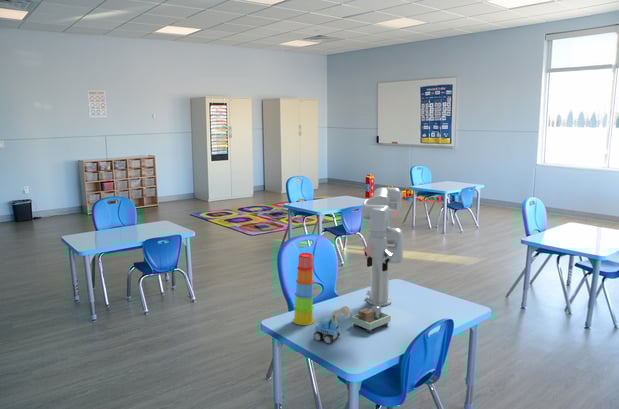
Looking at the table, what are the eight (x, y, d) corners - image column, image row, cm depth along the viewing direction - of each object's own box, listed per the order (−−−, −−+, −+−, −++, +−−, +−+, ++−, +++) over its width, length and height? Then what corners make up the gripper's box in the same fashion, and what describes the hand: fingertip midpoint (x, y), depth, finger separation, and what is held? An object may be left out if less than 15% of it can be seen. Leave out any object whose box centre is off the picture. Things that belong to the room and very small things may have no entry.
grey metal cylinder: (370, 318, 245) (370, 306, 244) (376, 316, 248) (376, 304, 247) (376, 321, 242) (376, 309, 241) (382, 318, 245) (382, 306, 244)
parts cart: (351, 326, 242) (351, 316, 242) (371, 318, 252) (372, 308, 251) (369, 334, 234) (369, 323, 233) (390, 325, 243) (390, 315, 242)
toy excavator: (344, 348, 220) (344, 311, 217) (311, 339, 228) (311, 304, 225) (352, 341, 227) (353, 305, 224) (321, 333, 235) (321, 298, 232)
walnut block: (358, 322, 240) (358, 310, 239) (365, 319, 244) (365, 308, 243) (366, 325, 237) (366, 313, 236) (373, 322, 240) (373, 311, 239)
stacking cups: (301, 315, 256) (300, 250, 250) (317, 320, 250) (317, 253, 244) (288, 322, 247) (287, 255, 241) (305, 327, 242) (304, 258, 236)
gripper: (358, 232, 242) (358, 266, 245) (386, 238, 229) (385, 274, 232) (369, 229, 247) (369, 263, 250) (397, 235, 234) (396, 270, 237)
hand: (377, 268), depth 241 cm, fingers open, 9 cm apart
